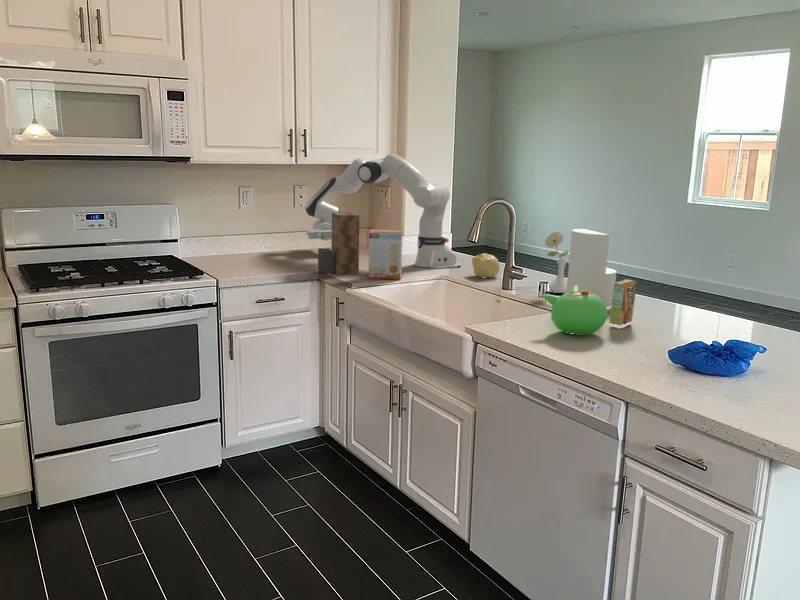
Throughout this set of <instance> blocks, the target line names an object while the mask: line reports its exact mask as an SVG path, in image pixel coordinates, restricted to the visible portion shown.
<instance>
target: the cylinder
mask: <svg viewBox="0 0 800 600" xmlns="http://www.w3.org/2000/svg"><path fill="white" fill-rule="evenodd" d="M609 242H610V234H608V233H604V232H599V231H595V230H590V229H586V228H573V229H571V237H570V246H569V247H570V248H569V258H568V269H567V270H568V272H567V280H566V281H567V291H566V293H568V292H570V291H571V289H572V288H573V286H575V285H577V286H578V288H579V290H582V291H589V292H591V293H593V294H595V295H597V296H599V297H600V298H601V299H602V300H603V302H604V303H605V305H606V307H609V306H612V298H613V289H614V283H615V282H617V281H616V280H617V279H616V278H617V270H616V269H614V268H610V267H607V263H608V253H609V246H610V245H609Z"/></svg>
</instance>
